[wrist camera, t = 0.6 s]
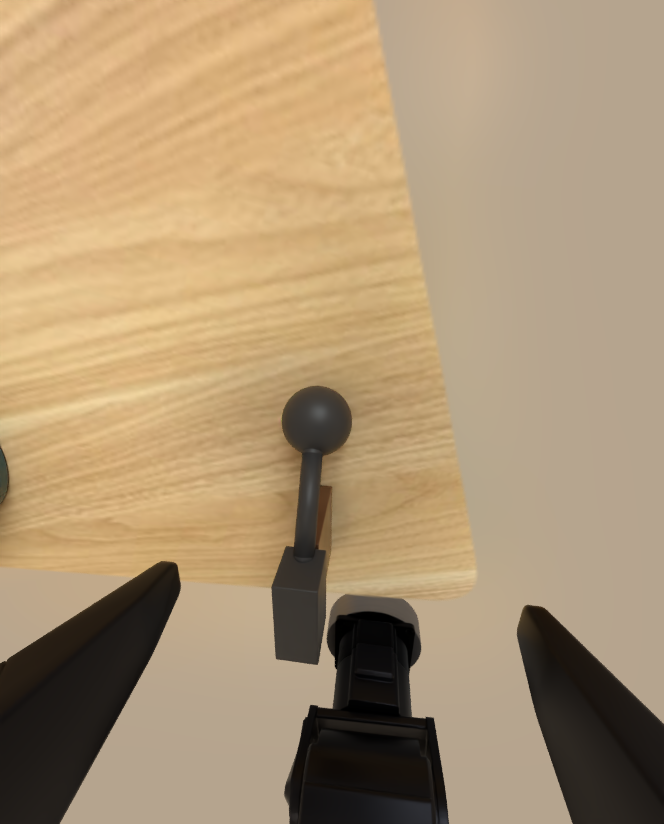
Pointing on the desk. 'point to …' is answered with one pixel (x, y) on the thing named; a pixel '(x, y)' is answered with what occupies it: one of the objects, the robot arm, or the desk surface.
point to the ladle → (307, 525)
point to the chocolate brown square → (324, 522)
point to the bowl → (3, 477)
